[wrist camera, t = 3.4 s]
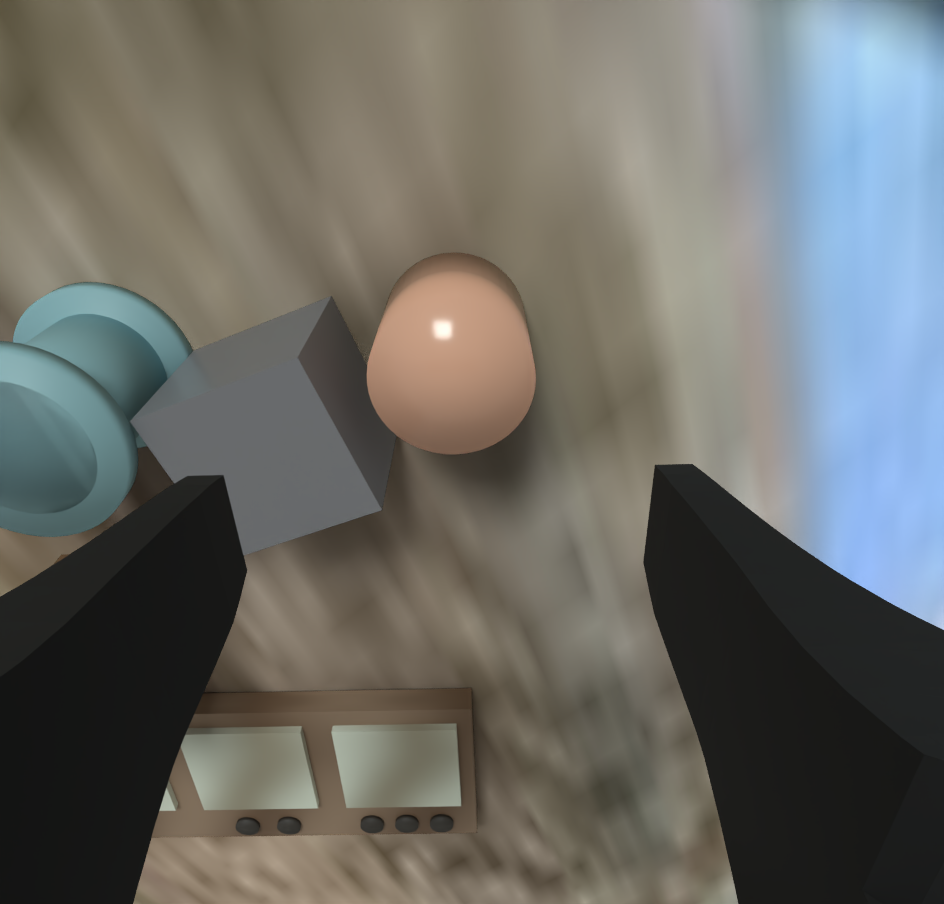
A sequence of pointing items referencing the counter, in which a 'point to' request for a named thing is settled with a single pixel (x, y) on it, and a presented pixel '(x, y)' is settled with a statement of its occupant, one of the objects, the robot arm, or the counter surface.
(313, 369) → the charcoal cube
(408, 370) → the peach round blob
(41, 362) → the teal spool
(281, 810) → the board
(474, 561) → the counter surface
